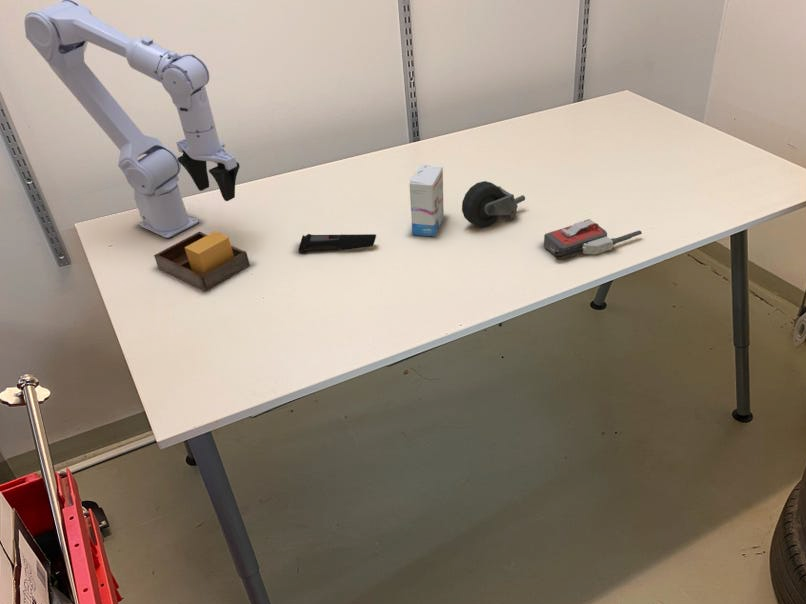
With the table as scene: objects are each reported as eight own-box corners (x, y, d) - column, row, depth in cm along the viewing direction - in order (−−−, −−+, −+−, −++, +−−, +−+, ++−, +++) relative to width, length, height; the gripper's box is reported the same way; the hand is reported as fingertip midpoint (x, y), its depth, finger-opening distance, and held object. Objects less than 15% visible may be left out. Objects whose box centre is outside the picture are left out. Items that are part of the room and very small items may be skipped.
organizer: (158, 268, 139) (153, 255, 137) (203, 244, 146) (199, 231, 144) (205, 291, 133) (201, 278, 131) (249, 265, 140) (246, 252, 138)
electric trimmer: (376, 253, 143) (375, 239, 141) (298, 254, 143) (295, 240, 141) (378, 243, 146) (376, 229, 144) (301, 244, 145) (298, 230, 143)
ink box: (435, 237, 147) (432, 184, 139) (411, 235, 148) (407, 182, 140) (445, 217, 153) (443, 165, 146) (422, 215, 154) (419, 163, 146)
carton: (193, 274, 136) (184, 247, 132) (222, 258, 141) (214, 231, 137) (206, 281, 134) (198, 253, 131) (236, 264, 139) (228, 237, 135)
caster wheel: (475, 239, 148) (532, 211, 154) (470, 198, 141) (530, 171, 147) (460, 228, 152) (516, 201, 157) (454, 187, 145) (513, 161, 151)
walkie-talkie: (561, 268, 138) (643, 240, 145) (563, 248, 135) (646, 221, 143) (536, 247, 144) (616, 221, 151) (537, 227, 141) (619, 202, 148)
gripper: (242, 128, 133) (257, 195, 141) (191, 111, 139) (208, 176, 148) (211, 141, 128) (229, 210, 137) (160, 123, 135) (180, 190, 143)
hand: (216, 193), depth 142 cm, fingers open, 7 cm apart
